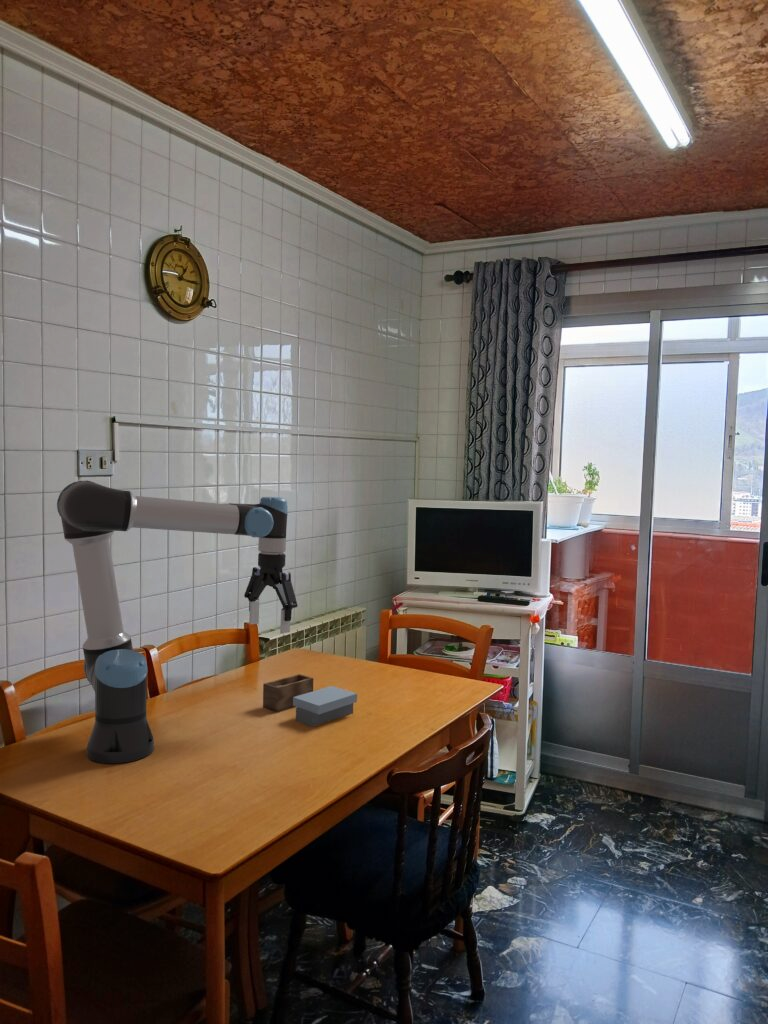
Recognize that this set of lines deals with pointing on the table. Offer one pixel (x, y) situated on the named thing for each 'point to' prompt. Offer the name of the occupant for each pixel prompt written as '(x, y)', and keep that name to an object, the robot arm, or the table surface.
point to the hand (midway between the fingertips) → (269, 628)
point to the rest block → (321, 715)
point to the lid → (324, 699)
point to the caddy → (285, 692)
